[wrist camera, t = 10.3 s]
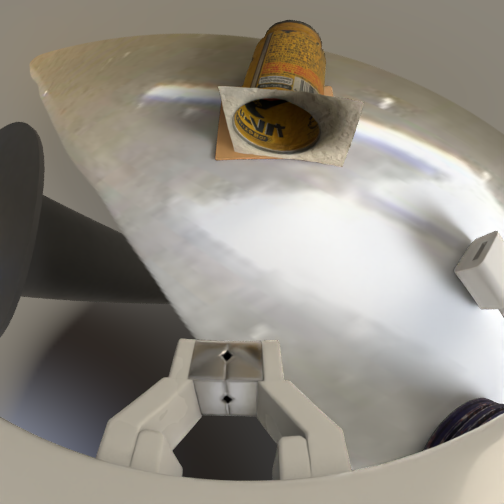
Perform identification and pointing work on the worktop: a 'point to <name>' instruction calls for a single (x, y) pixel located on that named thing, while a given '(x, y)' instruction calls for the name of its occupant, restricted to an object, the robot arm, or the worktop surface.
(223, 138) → the copper flat rectangular plate
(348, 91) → the worktop surface
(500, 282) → the usb wall charger
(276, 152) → the condiment
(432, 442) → the storage jar
